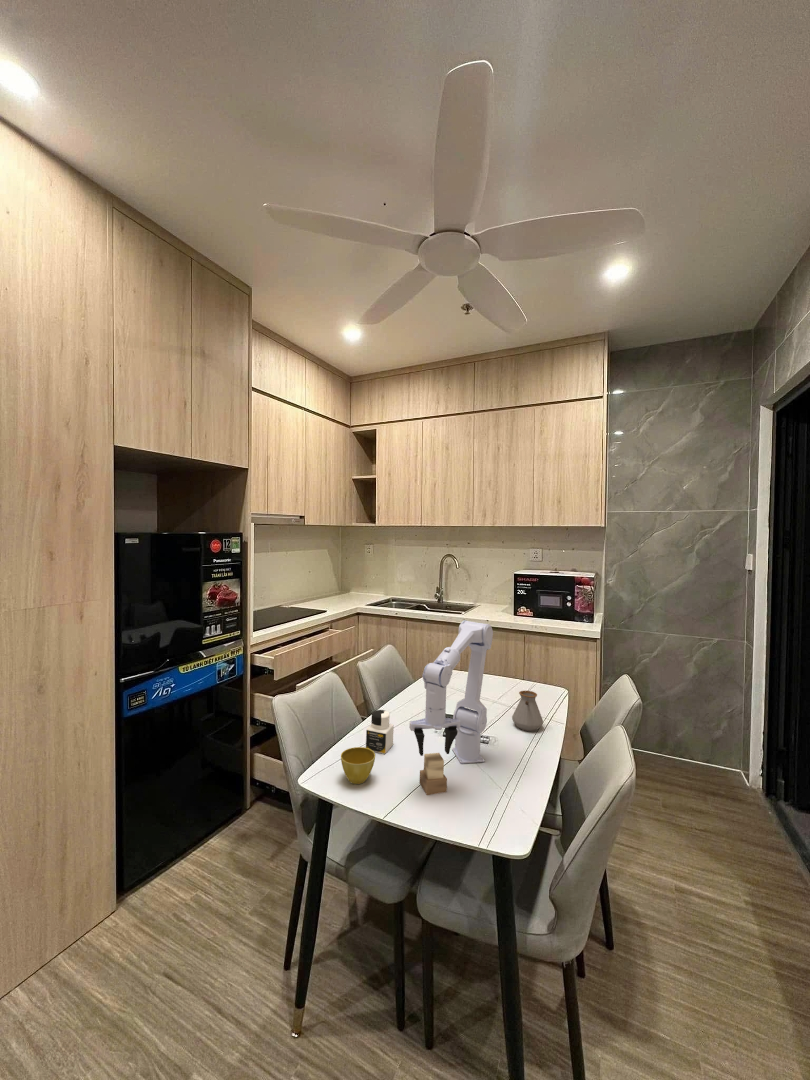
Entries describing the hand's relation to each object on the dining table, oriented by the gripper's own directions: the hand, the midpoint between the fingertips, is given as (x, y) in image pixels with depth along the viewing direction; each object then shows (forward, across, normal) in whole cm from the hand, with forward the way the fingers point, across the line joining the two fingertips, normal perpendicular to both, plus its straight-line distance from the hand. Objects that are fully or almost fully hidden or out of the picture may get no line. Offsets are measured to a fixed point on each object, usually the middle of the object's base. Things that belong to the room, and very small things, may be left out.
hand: (434, 753), depth 126 cm
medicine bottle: (+10, -12, +25) cm, 30 cm away
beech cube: (+6, 0, 0) cm, 6 cm away
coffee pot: (+10, +44, +30) cm, 54 cm away
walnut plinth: (+10, 0, 0) cm, 10 cm away
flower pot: (+10, -21, +7) cm, 24 cm away
